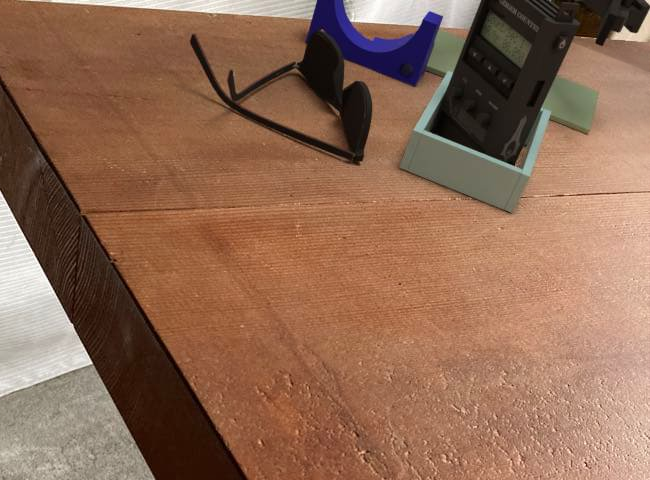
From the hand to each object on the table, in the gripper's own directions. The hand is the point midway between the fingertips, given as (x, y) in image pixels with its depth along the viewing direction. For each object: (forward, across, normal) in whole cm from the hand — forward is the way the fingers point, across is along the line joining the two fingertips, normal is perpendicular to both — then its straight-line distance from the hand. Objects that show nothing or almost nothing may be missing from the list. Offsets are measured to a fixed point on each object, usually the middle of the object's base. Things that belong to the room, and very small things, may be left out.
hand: (536, 2), depth 90 cm
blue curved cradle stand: (-2, +14, -11) cm, 18 cm away
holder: (+11, 0, -11) cm, 15 cm away
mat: (-11, 0, -11) cm, 16 cm away
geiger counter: (+10, +1, -11) cm, 15 cm away
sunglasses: (+18, +18, -11) cm, 27 cm away
